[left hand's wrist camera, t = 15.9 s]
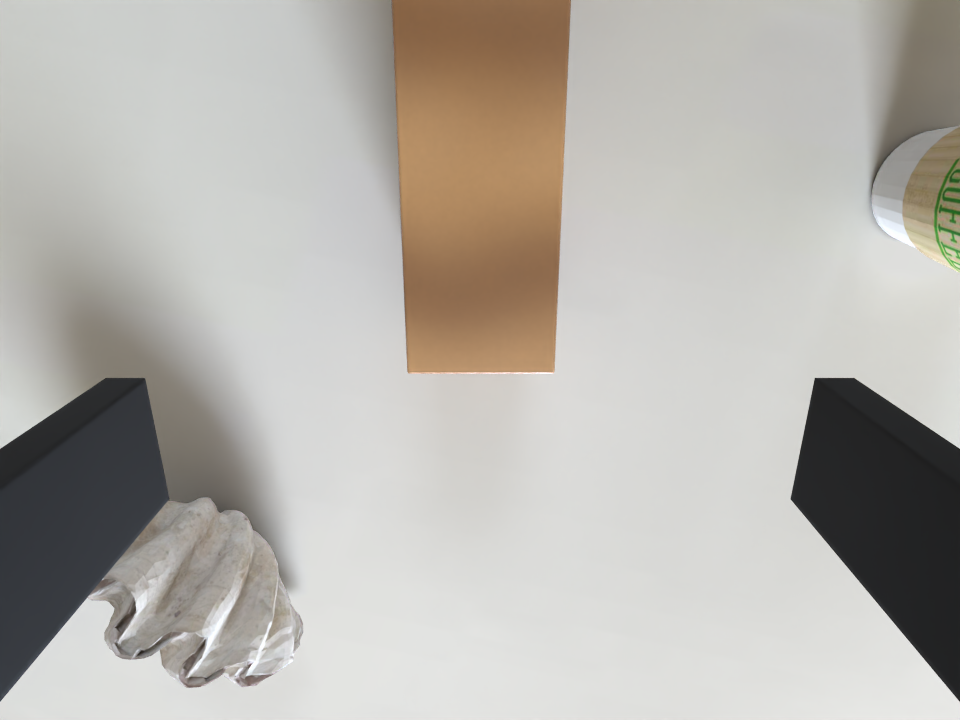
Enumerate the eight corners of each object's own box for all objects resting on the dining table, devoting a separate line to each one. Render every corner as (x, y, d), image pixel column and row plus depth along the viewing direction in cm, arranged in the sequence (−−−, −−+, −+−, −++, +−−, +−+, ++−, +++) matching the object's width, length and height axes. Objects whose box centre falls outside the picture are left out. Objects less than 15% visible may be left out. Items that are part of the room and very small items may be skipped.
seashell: (254, 436, 41) (187, 528, 32) (326, 613, 46) (287, 737, 37) (109, 468, 42) (3, 567, 33) (196, 638, 47) (126, 766, 38)
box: (532, 303, 38) (554, 374, 27) (427, 303, 38) (407, 374, 27) (549, -239, 29) (591, -459, 18) (412, -239, 29) (371, -459, 18)
